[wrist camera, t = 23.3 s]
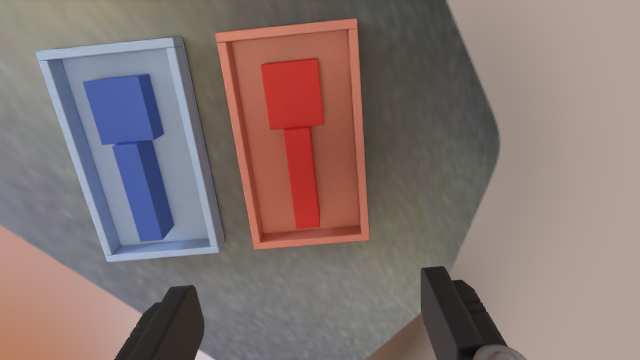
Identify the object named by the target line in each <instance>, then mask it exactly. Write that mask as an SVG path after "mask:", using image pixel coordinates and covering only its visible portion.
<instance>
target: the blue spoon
mask: <svg viewBox="0 0 640 360" xmlns="http://www.w3.org/2000/svg"><path fill="white" fill-rule="evenodd" d="M83 85H84V88H85V91H86V95H87V98H88V101H89V104H90V108H91V111H92V114H93V117H94V120H95V124H96V127H97V130H98V133H99V137H100V140H101V143H102V145H109V144H116V145H114V146H112V149H113V152H114V155H115V159H116V162H117V165H118V169H119V172H120V175H121V179H122V182H123V185H124V189H125V192H126V195H127V199H128V202H129V205H130V209H131V212H132V215H133V219H134V222H135V225H136V229H137V232H138V235H139V238H140V241H141V242H144V241H156V240H163V239H164V238H165V237H166V235H167V234H168V233H169V232H170V230H171V229H172V228H173V226H174V223H173V219H172V215H171V211H170V207H169V203H168V200H167V196H166V192H165V188H164V184H163V180H162V177H161V173H160V169H159V165H158V161H157V157H156V154H155V150H154V146H153V142H152V140H155V139H157V138H158V137H160V136H162V135H163V134H164V132H163V128H162V124H161V120H160V116H159V112H158V108H157V104H156V100H155V96H154V92H153V88H152V83H151V79H150V75H149V74H142V75H132V76H122V77H112V78H102V79H95V80H89V81H84V82H83Z"/></svg>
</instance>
